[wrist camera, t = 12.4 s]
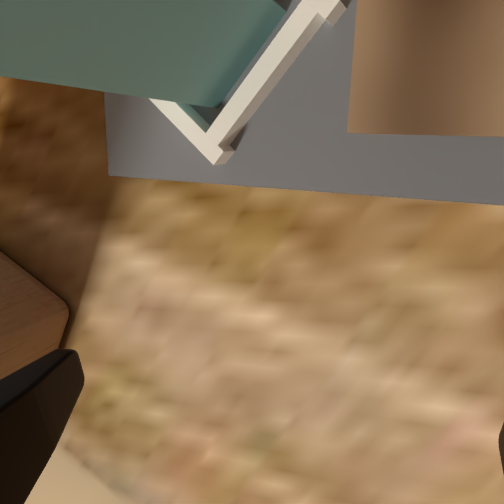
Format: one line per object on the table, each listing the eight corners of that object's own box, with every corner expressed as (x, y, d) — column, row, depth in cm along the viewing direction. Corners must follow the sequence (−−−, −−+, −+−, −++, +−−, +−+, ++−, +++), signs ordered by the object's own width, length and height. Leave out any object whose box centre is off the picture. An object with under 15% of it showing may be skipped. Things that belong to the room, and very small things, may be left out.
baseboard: (599, -236, 14) (625, -304, 12) (519, 202, 18) (528, 211, 15) (109, -117, 21) (71, -146, 19) (122, 174, 25) (92, 177, 23)
